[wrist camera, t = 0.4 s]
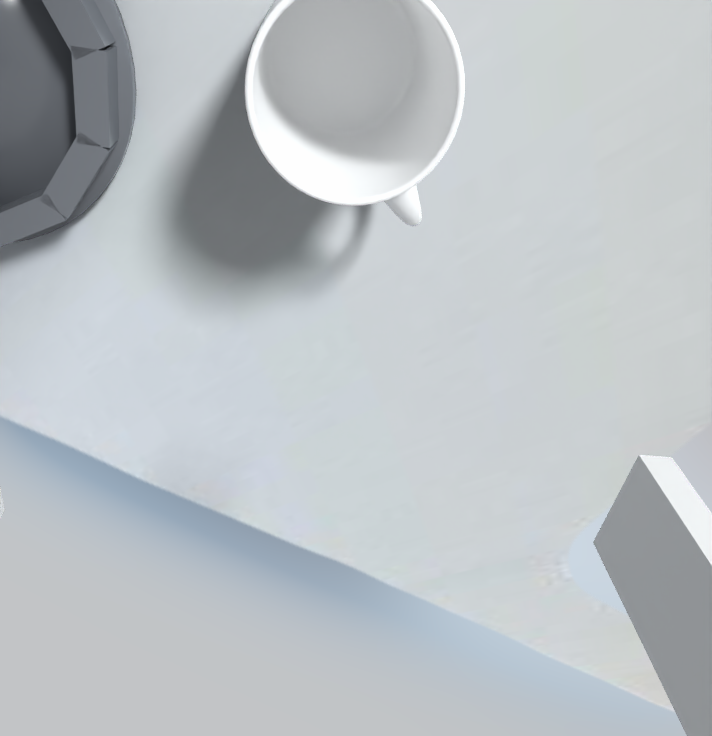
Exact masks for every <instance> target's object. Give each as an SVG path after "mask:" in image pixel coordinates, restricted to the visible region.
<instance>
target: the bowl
mask: <svg viewBox="0 0 712 736" xmlns="http://www.w3.org/2000/svg"><path fill="white" fill-rule="evenodd" d="M135 108H136V82H135V68H134V62H133V57H132V52H131V47H130V42H129V38H128V35H127V32H126V29H125V26H124V23H123V19H122V16H121V13H120V11H119V8H118V6H117V4H116V2H115V0H0V247H2V246H4V245H7V244H9V243H11V242H17V241H23V240H28V239H32V238H35V237H38V236H41V235H44V234H47V233H50V232H52V231H54V230H56V229H58V228H60V227H62V226H64V225H66V224H68V223H69V222H71V221H72V220H74V219H75V218H76V217H78V216H79V215H81V214H82V213H83V212H84V211H85V210H87V209H88V208H89V207H90V206H91V205H92V204H93V203H94V202H95V201H96V200H97V199H98V198H99V196H100V195H101V194H102V193H103V191H104V190H105V189H106V187H107V186H108V185H109V183H110V182H111V181H112V179H113V178H114V176H115V175H116V173H117V171H118V169H119V167H120V165H121V163H122V161H123V159H124V157H125V154H126V151H127V148H128V145H129V142H130V139H131V135H132V130H133V124H134V119H135Z"/></svg>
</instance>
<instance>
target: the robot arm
mask: <svg viewBox="0 0 712 736" xmlns="http://www.w3.org/2000/svg"><path fill="white" fill-rule="evenodd" d="M4 511H5V508H4V503H3V499H2V493H1V488H0V519H1V517H2V515H3V513H4ZM594 545H595V547H596V549H597V551H598V553H599V555H600V557H601V559H602V561H603V564H604V566H605V567H606V570H607V572H608V574H609V576H610V578H611V580H612V582H613V584H614V586H615V588H616V590H617V592H618V594H619V596H620V599H621V601H622V603H623V605H624V607H625V609H626V611H627V613H628V615H629V617H630V619H631V621H632V623H633V625H634V627H635V630H636V632H637V634H638V636H639V638H640V640H641V642H642V644H643V646H644V648H645V650H646V652H647V654H648V656H649V658H650V660H651V662H652V665H653V667H654V669H655V671H656V673H657V675H658V677H659V679H660V681H661V683H662V685H663V687H664V689H665V691H666V693H667V695H668V698H669V700H670V702H671V704H672V706H673V708H674V710H675V712H676V714H677V716H678V718H679V720H680V722H681V724H682V726H683V728H684V730H685V732H686V734H687V736H712V513H711V512H710V510H709V509H708V507H707V506H706V505H705V503H704V502H703V500H702V499H701V498H700V496H699V495H698V493H697V492H696V491H695V489H694V488H693V486H692V485H691V484H690V482H689V481H688V480H687V478H686V477H685V476H684V474H683V473H682V471H681V470H680V468H679V467H678V466H677V464H676V463H675V461H674V460H673V459H672V457H660V456H647V455H639V456H638V458H637V460H636V462H635V463H634V465H633V467H632V469H631V471H630V473H629V475H628V477H627V479H626V481H625V483H624V484H623V486H622V488H621V490H620V492H619V494H618V496H617V498H616V500H615V502H614V504H613V505H612V507H611V509H610V511H609V513H608V515H607V517H606V519H605V521H604V523H603V524H602V527H601V528H600V530H599V532H598V534H597V536H596V538H595V540H594Z"/></svg>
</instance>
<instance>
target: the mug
mask: <svg viewBox="0 0 712 736" xmlns="http://www.w3.org/2000/svg"><path fill="white" fill-rule="evenodd" d="M244 93H245V104H246V111H247V115H248V120H249V124H250V127H251V130H252V133H253V136H254V138H255V140H256V142H257V144H258V146H259V148H260V150H261V152H262V153H263V155H264V156H265V158H266V159H267V161H268V162H269V164H270V165H271V166H272V167H273V168H274V169H275V171H276V172H277V173H278V174H279V175H280V176H281V177H282V178H283V179H285V180H286V181H287V182H288V183H289V184H291V185H292V186H293V187H295V188H296V189H298V190H299V191H301V192H303V193H305V194H307V195H309V196H310V197H313V198H316V199H318V200H321V201H324V202H328V203H332V204H337V205H346V206H362V205H369V204H375V203H379V202H382V201H384V202H385V203H386V204H387V205H388V206H389V208H390V209H391V210H392V211H393V212H394V213H395V214H396V215H397V216H398V217H399V218H400V219H401V220H402V221H403V222H405V223H406V224H407V225H410V226H416V225H418V224H419V223H420V222H421V219H422V213H421V206H420V201H419V196H418V191H417V186H416V184H418V183H419V182H420V181H422V180H423V179H424V178H425V177H426V176H427V175H428V174H429V173H430V172H431V171H432V170H433V169H434V168H435V167H436V165H437V164H438V163H439V162H440V161H441V159H442V158H443V156H444V155H445V153H446V151H447V150H448V148H449V147H450V144H451V142H452V140H453V138H454V136H455V134H456V131H457V128H458V125H459V122H460V119H461V115H462V110H463V105H464V95H465V75H464V68H463V62H462V57H461V53H460V50H459V46H458V43H457V41H456V39H455V36H454V34H453V32H452V29H451V28H450V26H449V24H448V23H447V21H446V19H445V18H444V16H443V15H442V13H441V12H440V11H439V10H438V8H437V7H436V6H435V5H434V3H433V2H431V1H430V0H275V1H274V2H273V4H272V6H271V7H270V9H269V11H268V13H267V15H266V17H265V19H264V21H263V23H262V25H261V27H260V29H259V31H258V33H257V35H256V38H255V40H254V42H253V44H252V47H251V51H250V54H249V57H248V61H247V67H246V73H245V90H244Z"/></svg>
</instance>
